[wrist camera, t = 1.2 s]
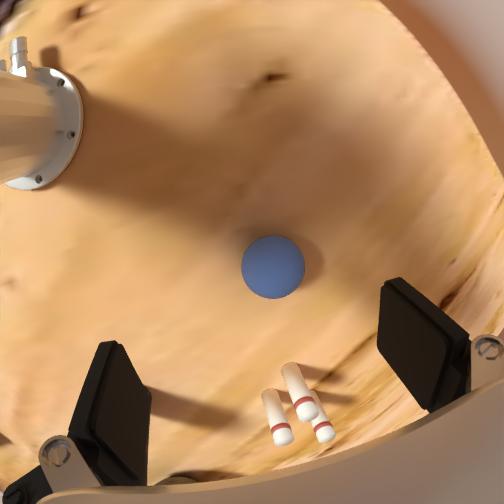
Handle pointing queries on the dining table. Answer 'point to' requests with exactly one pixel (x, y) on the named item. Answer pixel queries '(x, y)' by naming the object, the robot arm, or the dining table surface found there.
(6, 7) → the dining table surface
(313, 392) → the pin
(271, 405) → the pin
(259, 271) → the ball
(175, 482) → the grey rock
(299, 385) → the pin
